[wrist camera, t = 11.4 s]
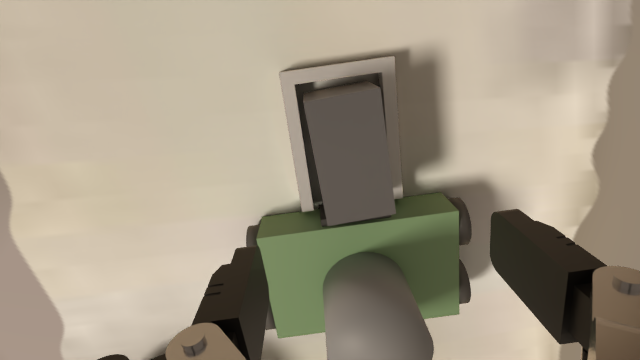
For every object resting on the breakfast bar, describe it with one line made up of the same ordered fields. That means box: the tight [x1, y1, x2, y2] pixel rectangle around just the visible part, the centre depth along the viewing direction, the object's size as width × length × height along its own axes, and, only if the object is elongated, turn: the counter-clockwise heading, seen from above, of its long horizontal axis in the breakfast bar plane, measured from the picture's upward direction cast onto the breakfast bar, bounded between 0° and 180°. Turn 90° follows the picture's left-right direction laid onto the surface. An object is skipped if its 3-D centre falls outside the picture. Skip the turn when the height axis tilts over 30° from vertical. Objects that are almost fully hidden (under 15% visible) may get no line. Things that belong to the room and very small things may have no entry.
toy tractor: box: [246, 56, 471, 360], centre depth 26 cm, size 22×18×11 cm
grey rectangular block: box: [303, 81, 396, 226], centre depth 27 cm, size 9×5×6 cm, turn 10°
